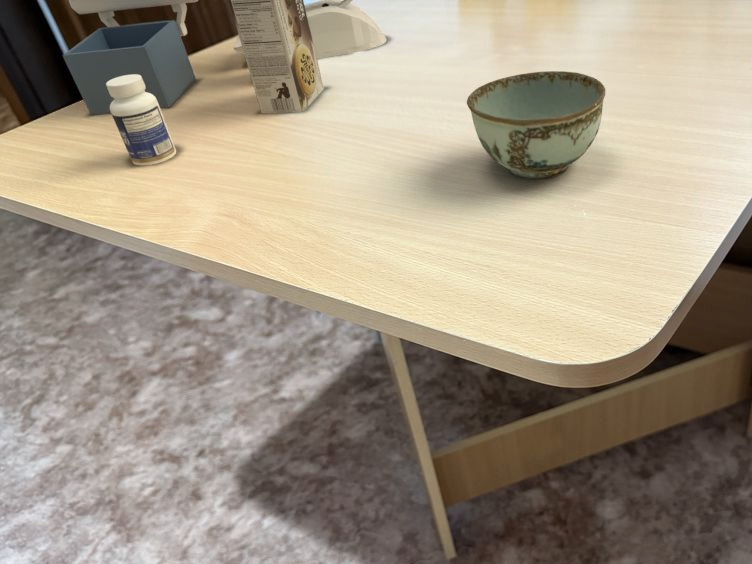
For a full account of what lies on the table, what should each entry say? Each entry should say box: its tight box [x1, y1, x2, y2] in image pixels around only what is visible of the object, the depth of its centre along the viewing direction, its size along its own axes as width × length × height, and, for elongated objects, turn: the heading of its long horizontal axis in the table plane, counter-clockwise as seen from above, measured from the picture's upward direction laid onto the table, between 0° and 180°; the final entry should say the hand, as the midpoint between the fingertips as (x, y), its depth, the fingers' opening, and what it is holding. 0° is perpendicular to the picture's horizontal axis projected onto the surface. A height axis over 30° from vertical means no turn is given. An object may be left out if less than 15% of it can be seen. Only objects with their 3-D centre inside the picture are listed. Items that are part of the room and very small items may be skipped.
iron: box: [233, 0, 387, 59], centre depth 112 cm, size 11×24×15 cm, turn 99°
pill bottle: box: [106, 74, 177, 166], centre depth 83 cm, size 5×5×10 cm
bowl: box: [466, 70, 606, 181], centre depth 70 cm, size 14×13×8 cm
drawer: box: [62, 19, 197, 116], centre depth 104 cm, size 16×12×9 cm
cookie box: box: [228, 0, 325, 114], centre depth 92 cm, size 9×6×16 cm
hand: (152, 38), depth 108 cm, fingers open, 8 cm apart
